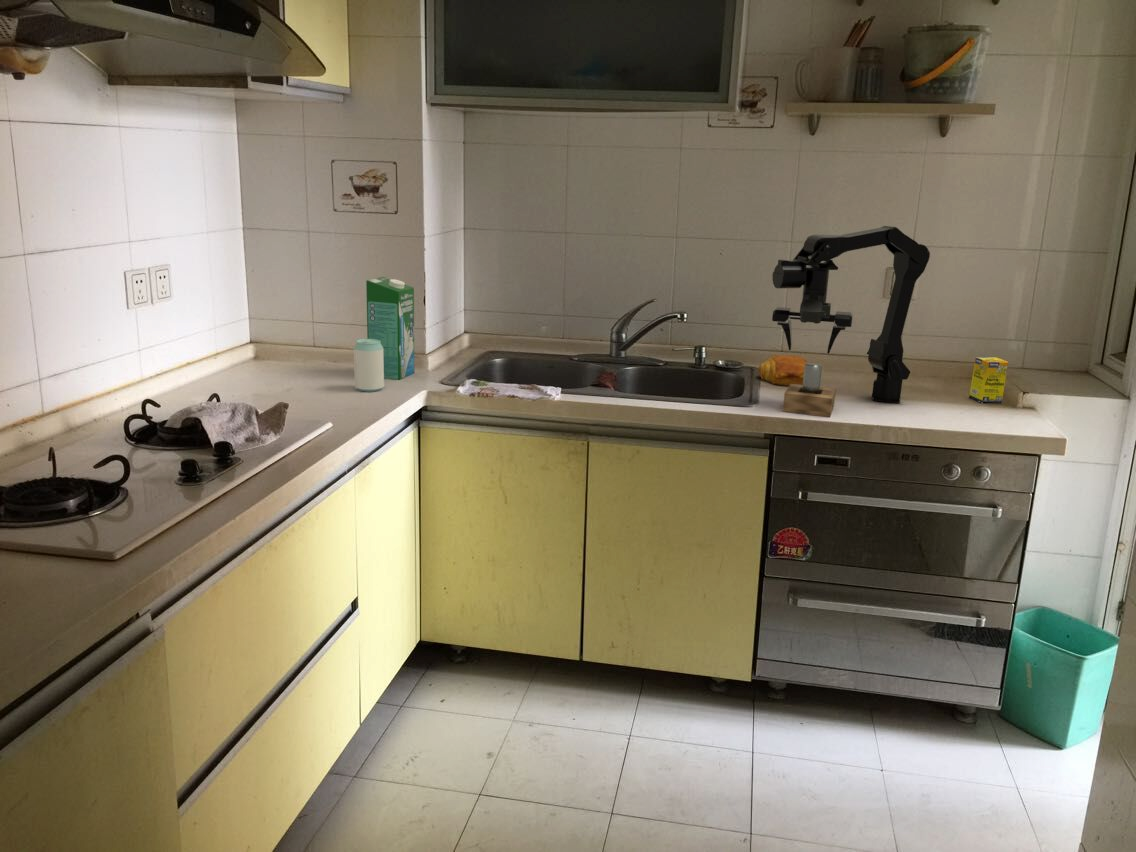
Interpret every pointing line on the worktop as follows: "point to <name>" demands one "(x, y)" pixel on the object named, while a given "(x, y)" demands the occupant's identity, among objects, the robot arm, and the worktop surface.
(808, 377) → the pin
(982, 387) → the supplement box
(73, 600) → the worktop surface
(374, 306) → the milk carton
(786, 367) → the croissant
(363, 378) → the can
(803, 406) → the bore block
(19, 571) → the worktop surface
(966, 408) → the worktop surface
